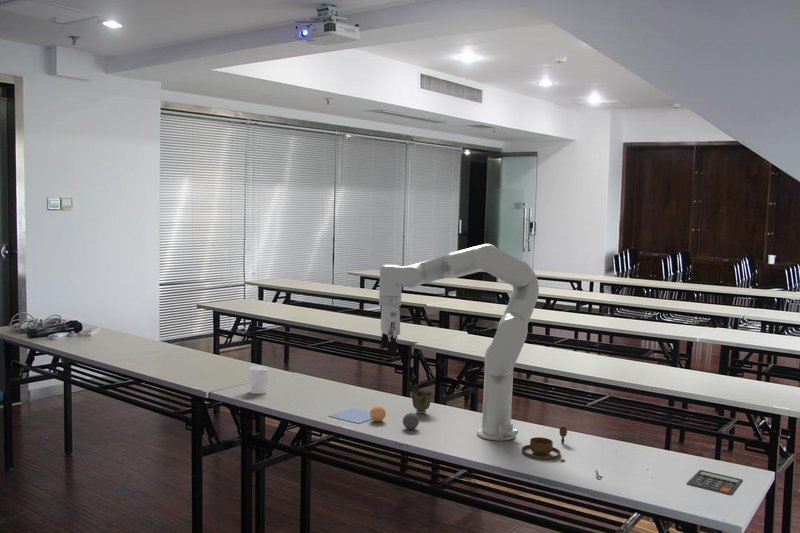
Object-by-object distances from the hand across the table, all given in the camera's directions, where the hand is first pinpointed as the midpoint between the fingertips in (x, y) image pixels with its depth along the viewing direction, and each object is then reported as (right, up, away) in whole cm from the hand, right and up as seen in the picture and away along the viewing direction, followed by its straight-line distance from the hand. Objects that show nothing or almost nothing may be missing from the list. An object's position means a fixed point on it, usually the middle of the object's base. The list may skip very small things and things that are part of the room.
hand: (388, 350), depth 237 cm
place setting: (+52, -31, -19) cm, 63 cm away
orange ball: (-4, -23, +8) cm, 25 cm away
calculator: (+94, -33, -40) cm, 107 cm away
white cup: (-54, -22, +43) cm, 72 cm away
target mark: (-12, -25, +14) cm, 31 cm away
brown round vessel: (+12, -26, +20) cm, 35 cm away
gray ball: (+8, -24, 0) cm, 25 cm away
